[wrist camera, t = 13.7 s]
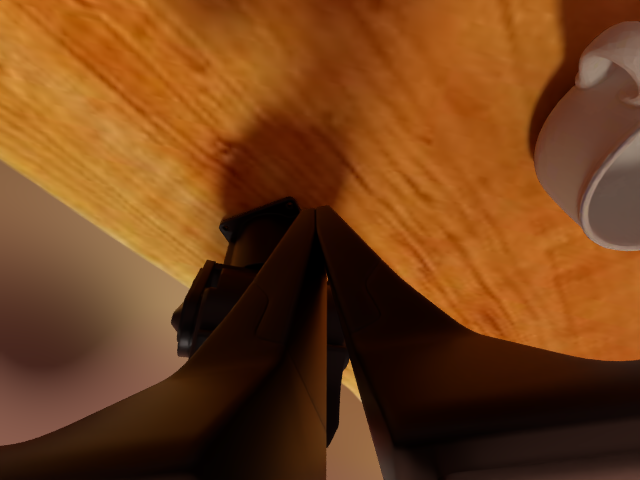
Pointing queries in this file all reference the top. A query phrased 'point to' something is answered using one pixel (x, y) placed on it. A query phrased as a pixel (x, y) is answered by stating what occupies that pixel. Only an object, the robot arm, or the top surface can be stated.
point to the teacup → (598, 141)
